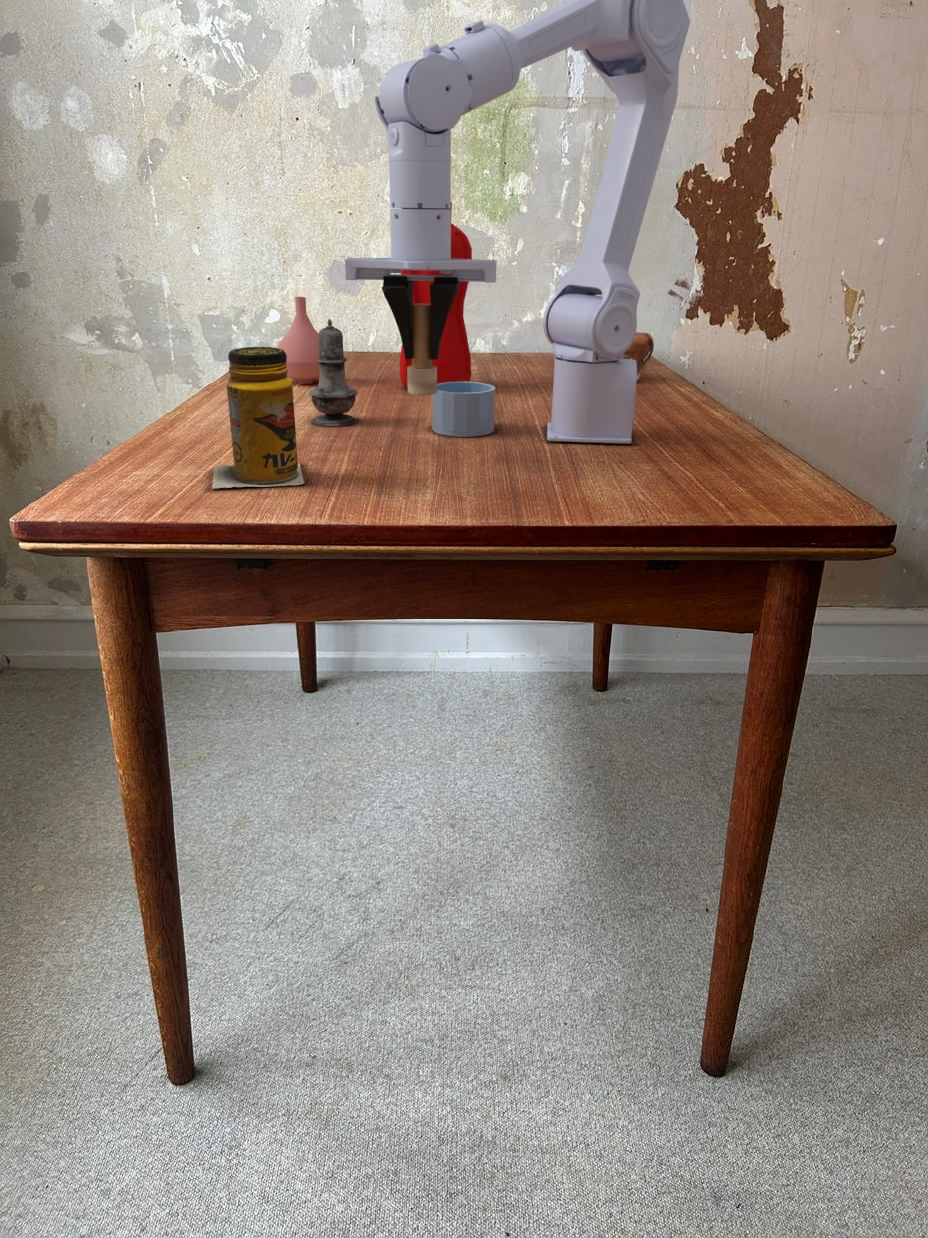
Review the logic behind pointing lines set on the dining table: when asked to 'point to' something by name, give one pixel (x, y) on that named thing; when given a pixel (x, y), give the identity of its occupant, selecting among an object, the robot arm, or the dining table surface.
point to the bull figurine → (640, 351)
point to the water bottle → (454, 339)
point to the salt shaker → (332, 381)
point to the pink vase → (301, 346)
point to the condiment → (260, 421)
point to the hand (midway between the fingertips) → (421, 357)
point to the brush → (421, 353)
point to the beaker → (463, 409)
